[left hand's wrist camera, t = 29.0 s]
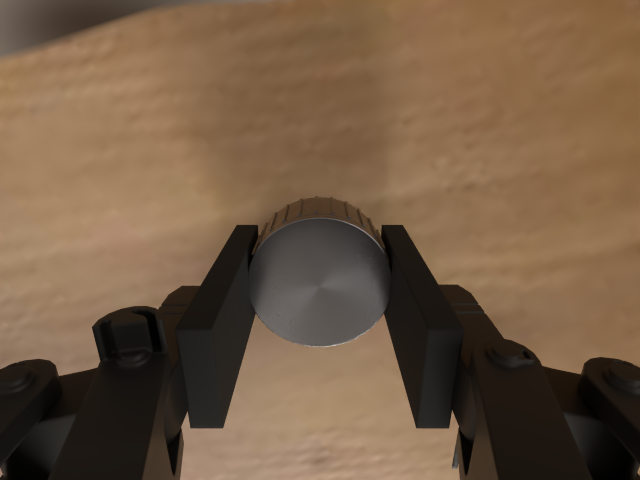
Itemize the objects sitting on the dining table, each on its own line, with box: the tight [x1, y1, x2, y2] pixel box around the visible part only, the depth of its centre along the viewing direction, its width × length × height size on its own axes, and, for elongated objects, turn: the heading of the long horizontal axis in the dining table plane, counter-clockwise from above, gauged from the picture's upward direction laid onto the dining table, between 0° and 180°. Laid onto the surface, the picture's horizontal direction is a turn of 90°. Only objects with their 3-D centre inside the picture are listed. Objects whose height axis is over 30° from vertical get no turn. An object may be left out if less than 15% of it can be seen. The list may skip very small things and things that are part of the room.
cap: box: [248, 197, 391, 347], centre depth 13 cm, size 5×5×2 cm
